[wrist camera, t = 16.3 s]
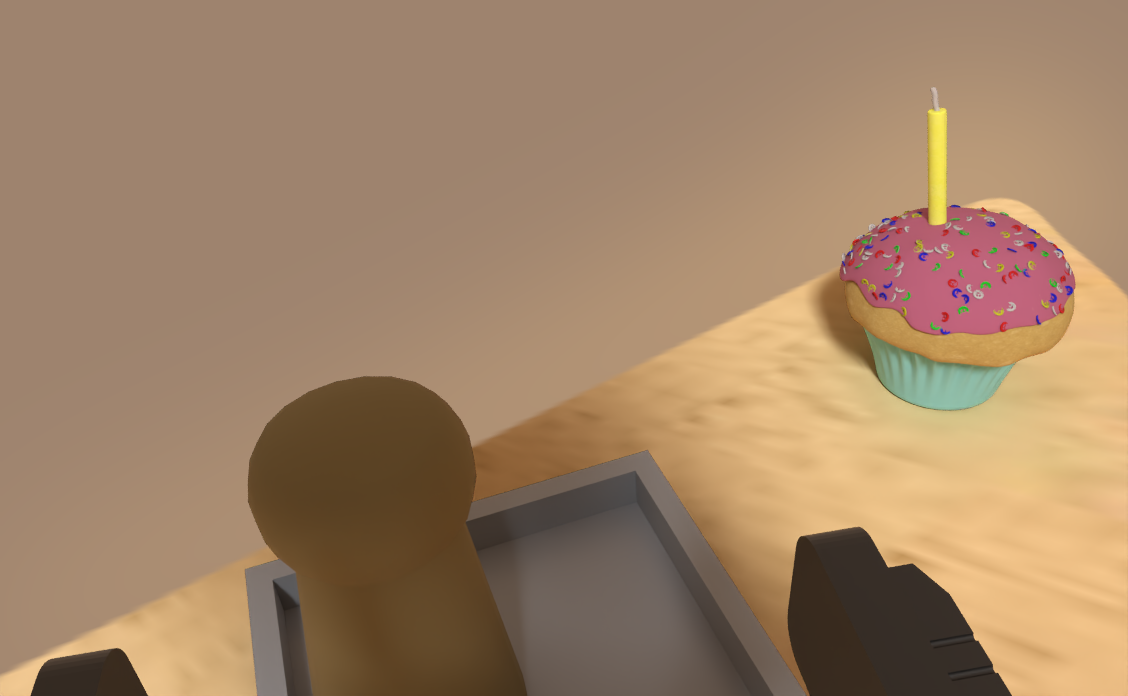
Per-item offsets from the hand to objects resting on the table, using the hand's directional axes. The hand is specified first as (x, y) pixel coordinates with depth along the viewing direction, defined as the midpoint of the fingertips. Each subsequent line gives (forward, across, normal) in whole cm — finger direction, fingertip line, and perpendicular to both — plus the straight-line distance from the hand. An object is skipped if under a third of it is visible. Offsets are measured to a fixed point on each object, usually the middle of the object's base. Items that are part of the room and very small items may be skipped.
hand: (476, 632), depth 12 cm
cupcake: (+22, -20, +16) cm, 33 cm away
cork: (+9, +2, +15) cm, 18 cm away
